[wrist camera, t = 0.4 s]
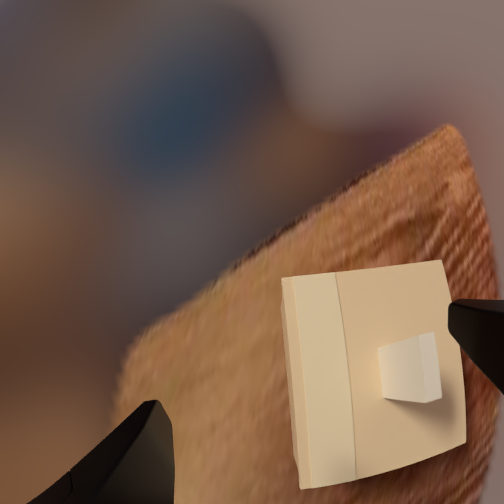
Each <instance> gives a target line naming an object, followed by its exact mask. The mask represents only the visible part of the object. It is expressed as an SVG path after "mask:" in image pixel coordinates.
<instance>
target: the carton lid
mask: <svg viewBox="0 0 504 504" xmlns="http://www.w3.org/2000/svg"><path fill="white" fill-rule="evenodd" d="M281 283H282V292H283V301H284V310H285V320H286V330H287V340H288V350H289V360H290V371H291V382H292V393H293V405H294V417H295V429H296V442H297V456H298V471H299V486H300V489H307V488H317V487H323V486H329V485H334V484H340V483H345V482H349V481H354V480H357V479H361V478H365V477H369V476H373V475H377V474H381V473H384V472H388V471H391V470H395V469H398V468H401V467H404V466H407V465H410V464H413V463H416V462H419V461H422V460H425V459H427V458H430V457H433V456H435V455H438V454H440V453H443V452H445V451H448V450H450V449H452V448H455V447H457V446H459V445H461V444H464V443H466V410H465V392H464V380H463V370H462V361H461V353H460V346H459V344H458V343H457V342H456V340H455V339H454V338H453V337H452V335H451V334H450V333H449V330H448V306H449V304H450V303H451V302H452V301H451V297H450V292H449V288H448V284H447V280H446V276H445V272H444V268H443V264H442V260H435V261H427V262H420V263H412V264H404V265H396V266H388V267H380V268H371V269H362V270H354V271H345V272H336V273H335V272H333V273H323V274H314V275H304V276H294V277H287V278H282V280H281Z"/></svg>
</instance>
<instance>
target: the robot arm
mask: <svg viewBox="0 0 504 504" xmlns="http://www.w3.org/2000/svg"><path fill="white" fill-rule="evenodd" d="M448 330H449V333H450V334H451V335H452V337H453V338H454V339H455V340H456V342H457V343H458V344H459V345H460V346H461V348H462V349H463V350H464V351H465V353H466V354H467V355H468V357H469V358H470V359H471V360H472V361H473V363H474V364H475V365H476V366H477V367H478V368H479V369H480V370H481V371H482V372H483V373H484V374H485V375H486V376H487V378H488V379H489V380H490V381H491V382H492V383H493V384H494V385H495V386H496V387H497V388H498V389H499V390H500V391H501V392H502V394H503V395H504V300H482V299H457V300H455V301H453V302H451V303H450V304H449V306H448ZM174 481H175V463H174V450H173V434H172V424H171V421H170V419H169V417H168V415H167V414H166V412H165V410H164V408H163V406H162V404H161V403H160V402H159V401H158V400H150V401H145V402H143V403H142V404H141V405H140V406H139V407H138V408H137V409H136V410H135V411H134V412H133V413H131V414H130V415H129V416H128V417H127V418H126V419H125V420H124V421H123V422H122V423H121V424H120V425H119V426H118V427H116V428H115V429H114V430H113V431H112V432H111V433H110V434H109V435H108V436H107V437H106V438H105V439H103V440H102V441H101V442H100V443H99V444H98V445H97V446H96V447H95V448H94V449H93V450H91V452H89V453H88V454H87V455H86V456H85V457H84V458H83V459H81V460H80V461H79V462H78V463H77V464H76V465H75V466H74V467H72V468H71V470H70V471H68V472H67V473H66V474H65V475H63V476H62V477H61V478H60V479H59V480H58V481H56V482H55V483H54V484H53V485H52V486H50V487H49V488H48V489H46V490H45V491H44V492H42V493H41V494H40V495H38V496H37V497H36V498H34V499H33V500H31V501H30V502H28V503H27V504H174Z"/></svg>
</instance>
